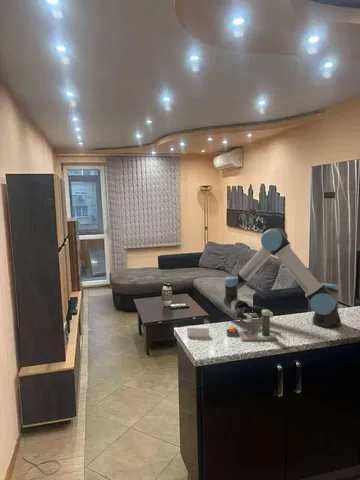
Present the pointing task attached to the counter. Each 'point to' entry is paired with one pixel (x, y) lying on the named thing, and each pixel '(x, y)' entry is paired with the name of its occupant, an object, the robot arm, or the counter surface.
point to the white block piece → (197, 331)
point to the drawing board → (257, 336)
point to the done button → (232, 329)
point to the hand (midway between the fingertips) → (261, 317)
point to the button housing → (232, 333)
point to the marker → (266, 322)
